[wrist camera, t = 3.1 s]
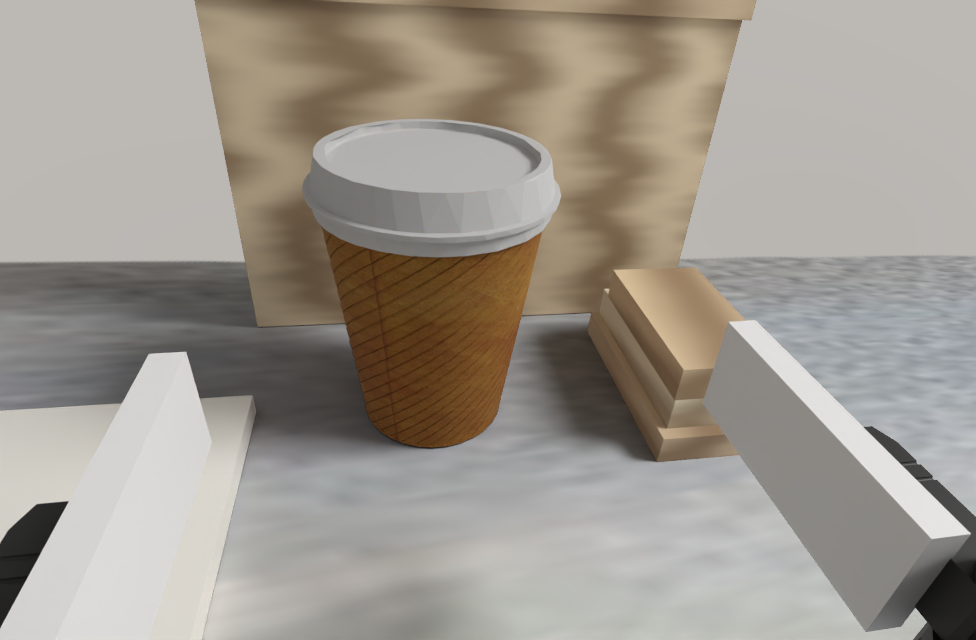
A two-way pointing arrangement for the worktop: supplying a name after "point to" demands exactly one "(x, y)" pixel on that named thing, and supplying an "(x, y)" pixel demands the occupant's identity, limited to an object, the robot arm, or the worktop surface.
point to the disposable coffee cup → (431, 263)
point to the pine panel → (473, 120)
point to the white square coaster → (69, 450)
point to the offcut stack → (665, 356)
